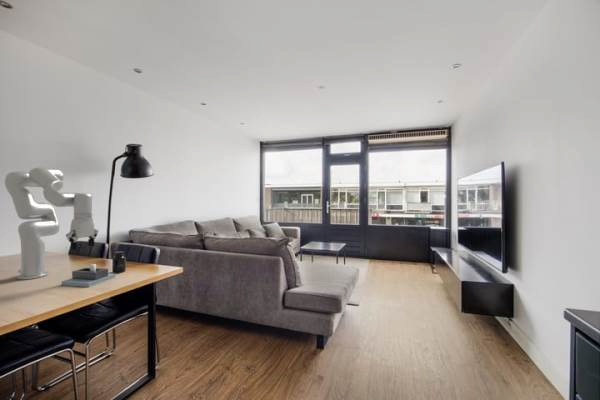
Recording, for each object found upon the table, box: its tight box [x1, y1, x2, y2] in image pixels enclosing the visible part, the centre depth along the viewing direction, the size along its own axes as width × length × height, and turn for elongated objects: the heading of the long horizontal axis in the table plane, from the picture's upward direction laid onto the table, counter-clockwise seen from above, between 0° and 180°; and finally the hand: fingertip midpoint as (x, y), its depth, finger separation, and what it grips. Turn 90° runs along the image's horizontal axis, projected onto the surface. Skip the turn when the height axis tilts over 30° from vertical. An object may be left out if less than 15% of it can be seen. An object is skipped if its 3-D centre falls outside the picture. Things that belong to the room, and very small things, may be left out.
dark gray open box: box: [71, 267, 109, 280], centre depth 142 cm, size 14×8×4 cm, turn 82°
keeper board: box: [61, 263, 117, 288], centre depth 142 cm, size 16×16×9 cm
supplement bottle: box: [111, 251, 127, 274], centre depth 160 cm, size 7×7×12 cm
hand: (82, 247), depth 142 cm, fingers open, 9 cm apart
